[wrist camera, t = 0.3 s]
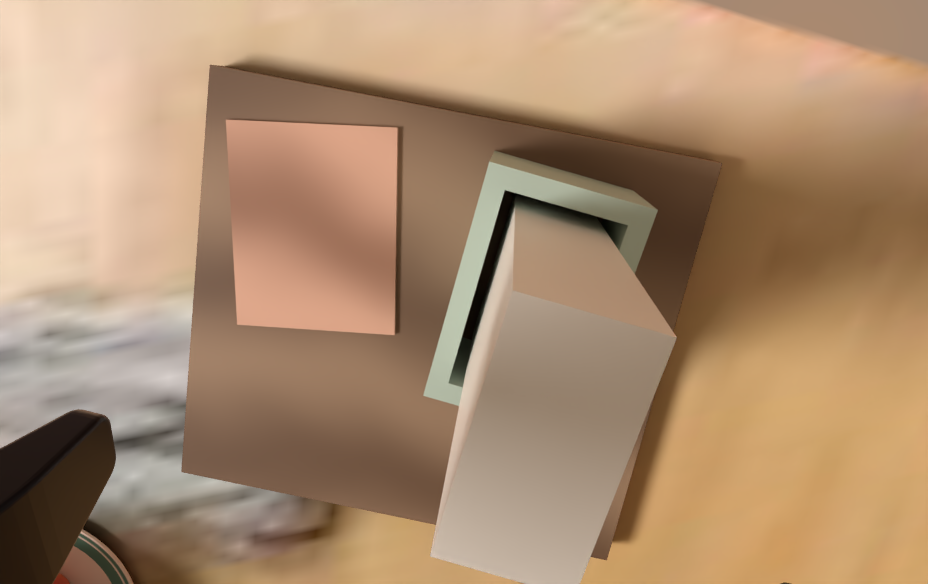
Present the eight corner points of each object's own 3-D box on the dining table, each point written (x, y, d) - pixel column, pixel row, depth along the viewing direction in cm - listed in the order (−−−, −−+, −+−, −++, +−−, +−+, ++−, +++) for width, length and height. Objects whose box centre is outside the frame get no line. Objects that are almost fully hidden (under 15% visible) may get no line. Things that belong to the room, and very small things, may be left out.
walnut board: (603, 543, 26) (607, 562, 25) (193, 458, 27) (179, 474, 25) (713, 160, 22) (723, 163, 21) (223, 66, 22) (207, 64, 21)
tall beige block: (546, 349, 23) (574, 597, 12) (474, 329, 23) (429, 556, 12) (592, 211, 22) (677, 337, 10) (515, 189, 22) (512, 290, 10)
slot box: (565, 383, 23) (574, 439, 20) (438, 347, 23) (423, 395, 20) (632, 190, 21) (658, 210, 18) (494, 150, 21) (489, 161, 18)
